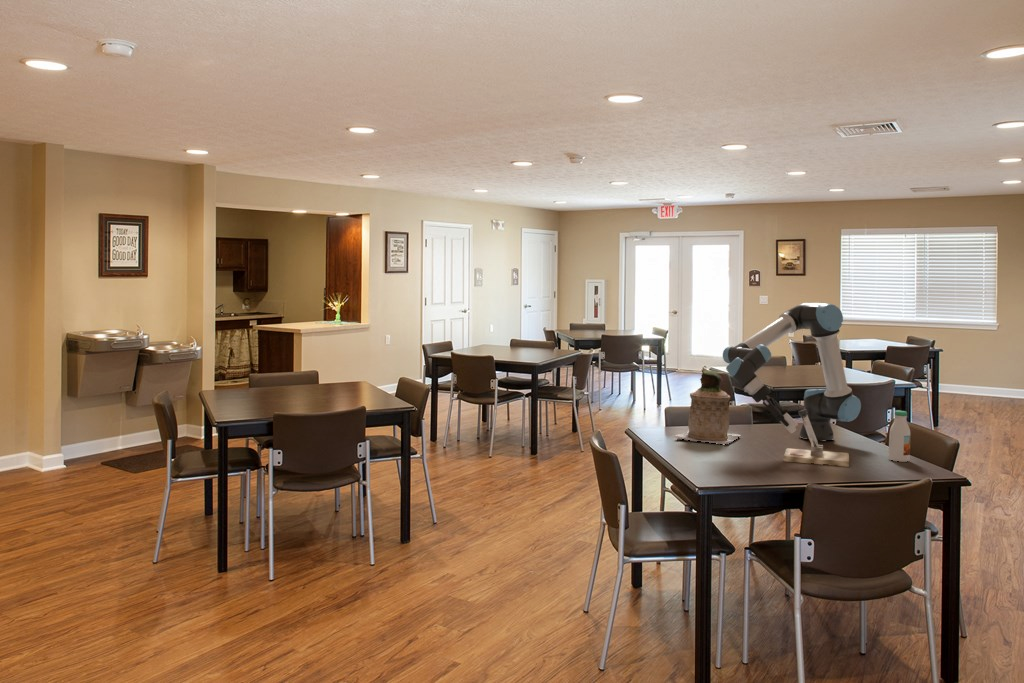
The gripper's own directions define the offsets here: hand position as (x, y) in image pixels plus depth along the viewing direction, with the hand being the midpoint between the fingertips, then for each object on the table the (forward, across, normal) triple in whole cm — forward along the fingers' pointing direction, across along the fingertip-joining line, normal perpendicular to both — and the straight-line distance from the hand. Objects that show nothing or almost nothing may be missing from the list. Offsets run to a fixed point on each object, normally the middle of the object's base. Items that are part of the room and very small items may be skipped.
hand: (794, 429), depth 329 cm
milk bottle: (+36, -13, +20) cm, 43 cm away
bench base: (+14, 0, -2) cm, 15 cm away
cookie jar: (-18, -28, -36) cm, 49 cm away
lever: (+13, 0, 0) cm, 13 cm away
